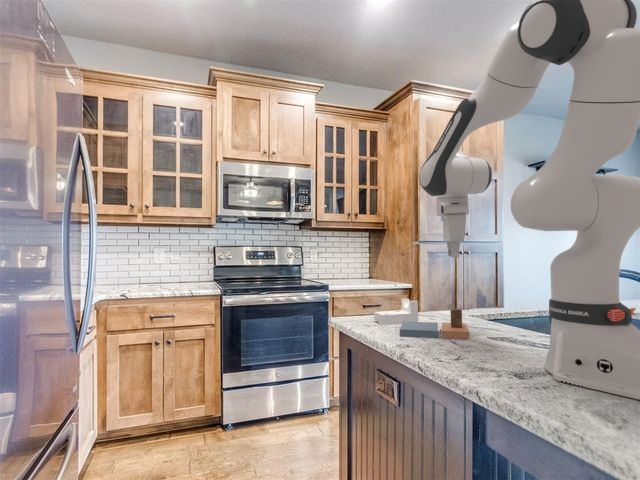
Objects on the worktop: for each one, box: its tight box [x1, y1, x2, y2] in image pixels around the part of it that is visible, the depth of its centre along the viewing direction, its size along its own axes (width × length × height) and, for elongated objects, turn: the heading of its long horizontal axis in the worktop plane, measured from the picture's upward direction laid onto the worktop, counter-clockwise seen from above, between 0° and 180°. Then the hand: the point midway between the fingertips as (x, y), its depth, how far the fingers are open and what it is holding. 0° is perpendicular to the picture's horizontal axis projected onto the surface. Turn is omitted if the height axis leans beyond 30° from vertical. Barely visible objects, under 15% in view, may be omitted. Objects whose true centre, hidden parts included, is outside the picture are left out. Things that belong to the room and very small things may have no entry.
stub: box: [441, 308, 471, 340], centre depth 110 cm, size 7×12×7 cm, turn 163°
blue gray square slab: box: [399, 321, 441, 339], centre depth 112 cm, size 11×12×2 cm
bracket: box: [373, 298, 419, 326], centre depth 129 cm, size 13×7×8 cm, turn 103°
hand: (453, 257), depth 110 cm, fingers open, 8 cm apart
